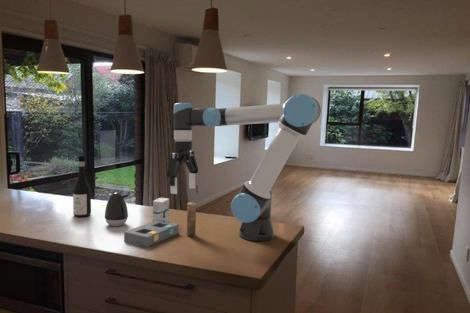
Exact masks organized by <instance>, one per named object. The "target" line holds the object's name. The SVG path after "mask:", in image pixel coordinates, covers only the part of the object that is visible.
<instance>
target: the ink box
mask: <svg viewBox="0 0 470 313" xmlns="http://www.w3.org/2000/svg"><path fill="white" fill-rule="evenodd" d="M156 220H158V221H163V222H168V223H170V222H169V221H170V198H168V197H167V198H166V197H159V198H156V199H154V200H153V201H152V222H153V221H156Z"/></svg>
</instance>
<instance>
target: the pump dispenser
mask: <svg viewBox="0 0 470 313" xmlns="http://www.w3.org/2000/svg"><path fill="white" fill-rule="evenodd" d="M125 198H129V194H128V193H126V194H122V193H121V192H117V191H116V192H113V193H112V194H110V196H109V198H108V200H107V203H106V206H105V210H104V219H105V222H106V223H107V225H109V226H111V227H121V226H123V225H125V224H126V222H127V220H128V218H129V213H128V211H129V210H128V207H127V206H128V205H127V202H126V200H125Z"/></svg>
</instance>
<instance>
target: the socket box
mask: <svg viewBox="0 0 470 313" xmlns="http://www.w3.org/2000/svg"><path fill="white" fill-rule="evenodd" d="M123 234H124V235H123V236H124V237H123V239H124V240H123V242H124V243H128V244H133V245H136V246H141V247H145V248H149V247H151V246H154V245H156V244H158V243H161V242H162V241H165V240H167V239H169V238H171V237H174V236H176V235H178V234H179V224H178V223H173V222H172V223H171V222H163V221H158V220H156V221H153V220H152V221H151V222H148V223H145V224H142V225H139V226H137V227H134V228H131V229H129V230H125V231H124V233H123Z"/></svg>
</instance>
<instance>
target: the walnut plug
mask: <svg viewBox="0 0 470 313" xmlns="http://www.w3.org/2000/svg"><path fill="white" fill-rule="evenodd" d="M186 211H187V213H186V214H187V215H186V216H187V217H186V218H187V219H186V236H187V237H195V236H196V226H197V225H196V224H197V223H196V222H197V220H196V219H197V218H196V217H197V203H196V202H187V210H186Z"/></svg>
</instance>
